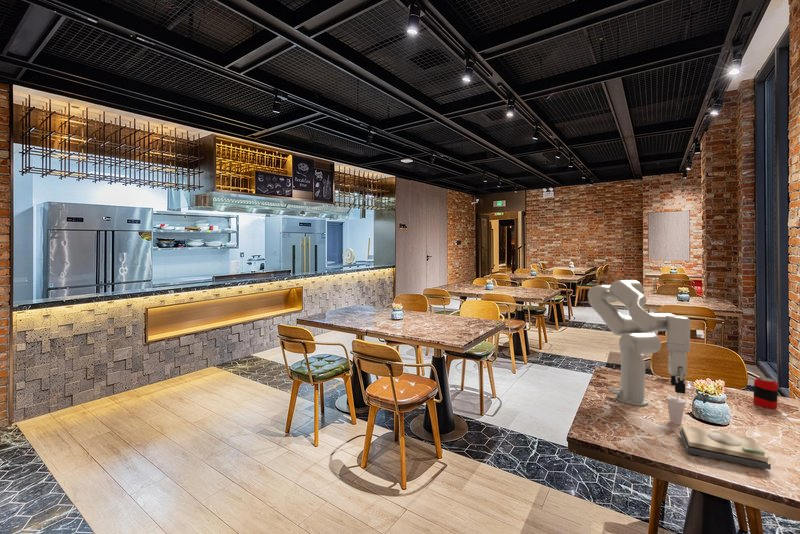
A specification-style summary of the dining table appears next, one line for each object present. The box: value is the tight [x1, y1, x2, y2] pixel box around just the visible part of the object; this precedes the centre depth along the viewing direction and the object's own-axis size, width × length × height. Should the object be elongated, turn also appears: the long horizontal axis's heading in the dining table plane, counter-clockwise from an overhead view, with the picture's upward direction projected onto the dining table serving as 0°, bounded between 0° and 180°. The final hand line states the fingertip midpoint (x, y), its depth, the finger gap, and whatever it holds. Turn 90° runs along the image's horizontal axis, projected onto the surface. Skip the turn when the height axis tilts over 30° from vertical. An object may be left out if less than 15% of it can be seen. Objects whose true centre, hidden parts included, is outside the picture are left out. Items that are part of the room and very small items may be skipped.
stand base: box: [678, 428, 772, 471], centre depth 128 cm, size 21×15×3 cm
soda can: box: [752, 376, 779, 410], centre depth 166 cm, size 8×8×12 cm
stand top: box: [681, 424, 769, 462], centre depth 128 cm, size 20×14×2 cm
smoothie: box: [665, 393, 687, 426], centre depth 150 cm, size 6×6×14 cm
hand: (677, 389), depth 149 cm, fingers open, 9 cm apart
